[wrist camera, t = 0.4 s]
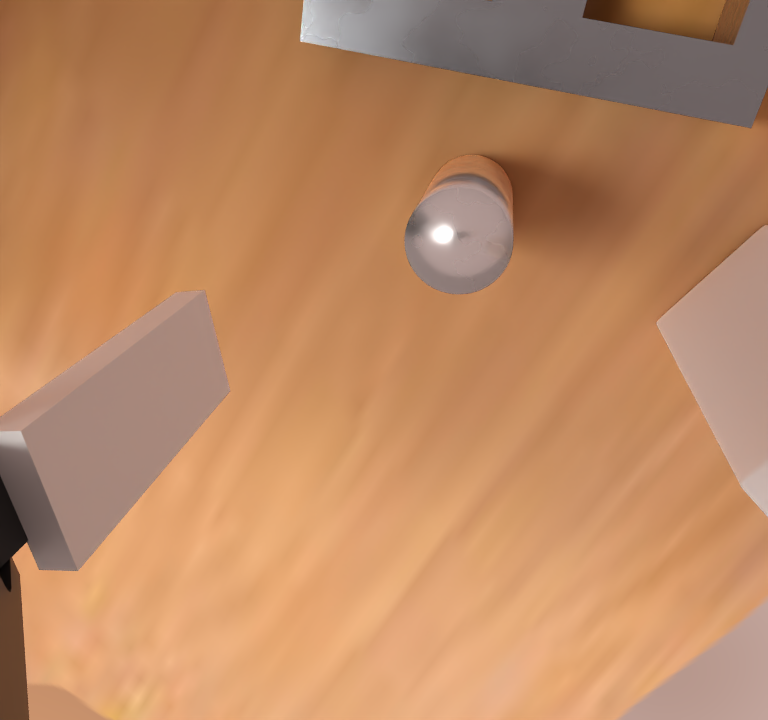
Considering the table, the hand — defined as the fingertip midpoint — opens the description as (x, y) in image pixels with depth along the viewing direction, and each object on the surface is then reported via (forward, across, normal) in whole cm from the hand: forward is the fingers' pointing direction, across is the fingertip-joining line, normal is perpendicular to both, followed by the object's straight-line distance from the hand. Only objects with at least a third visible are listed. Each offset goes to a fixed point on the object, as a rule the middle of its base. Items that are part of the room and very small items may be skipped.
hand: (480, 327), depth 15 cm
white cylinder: (+21, -2, -1) cm, 22 cm away
